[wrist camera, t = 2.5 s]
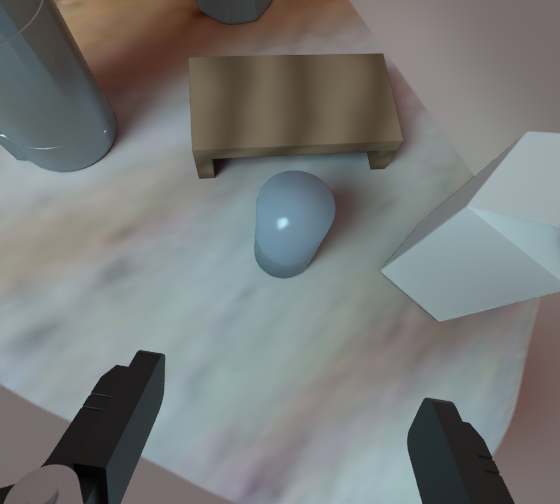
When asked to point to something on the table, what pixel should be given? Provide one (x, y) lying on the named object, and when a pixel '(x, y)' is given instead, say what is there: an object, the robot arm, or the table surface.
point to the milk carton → (489, 236)
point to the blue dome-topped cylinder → (291, 222)
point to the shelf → (291, 107)
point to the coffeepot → (233, 10)
